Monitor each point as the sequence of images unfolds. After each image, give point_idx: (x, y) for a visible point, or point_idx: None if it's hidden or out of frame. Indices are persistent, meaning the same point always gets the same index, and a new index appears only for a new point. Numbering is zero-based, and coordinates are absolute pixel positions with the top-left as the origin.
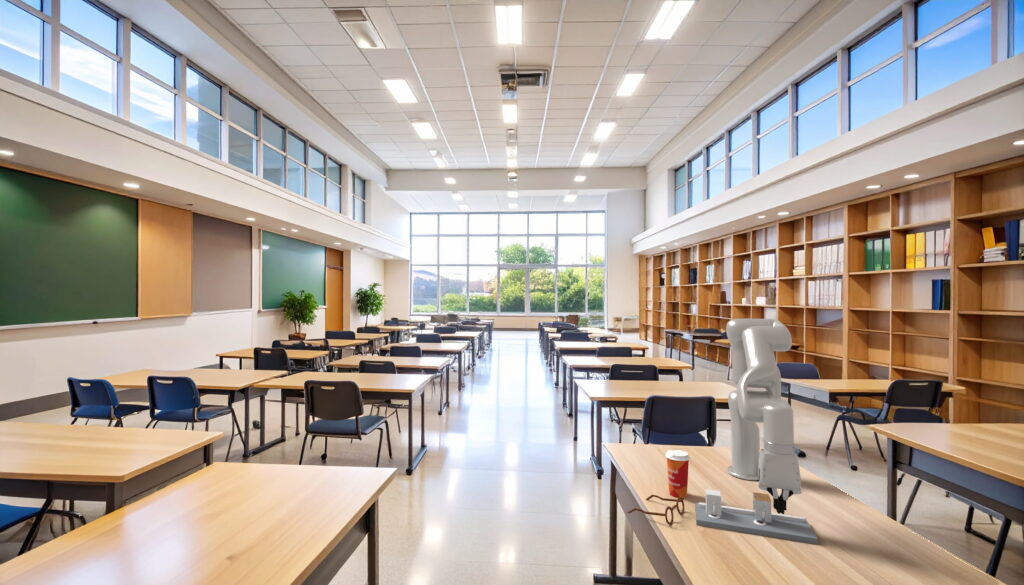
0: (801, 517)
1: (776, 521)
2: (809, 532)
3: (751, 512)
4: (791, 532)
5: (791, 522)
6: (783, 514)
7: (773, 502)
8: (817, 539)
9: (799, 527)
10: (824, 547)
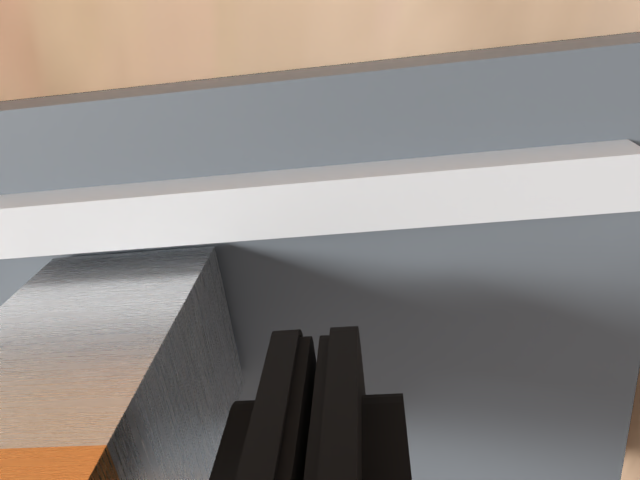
0: (619, 171)
1: (296, 294)
2: (585, 404)
3: (20, 250)
4: (411, 454)
5: (457, 252)
6: (387, 174)
7: (221, 454)
8: (613, 478)
9: (516, 335)
10: (634, 465)
